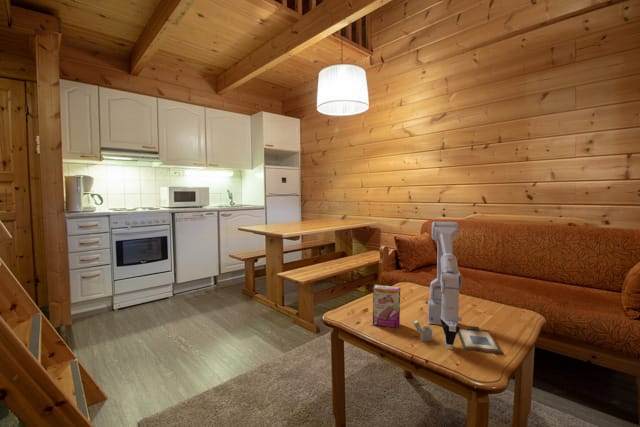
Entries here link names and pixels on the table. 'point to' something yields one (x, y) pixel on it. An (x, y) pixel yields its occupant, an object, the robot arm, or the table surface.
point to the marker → (448, 345)
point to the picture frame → (478, 340)
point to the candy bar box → (386, 306)
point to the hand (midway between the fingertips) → (449, 341)
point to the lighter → (423, 332)
